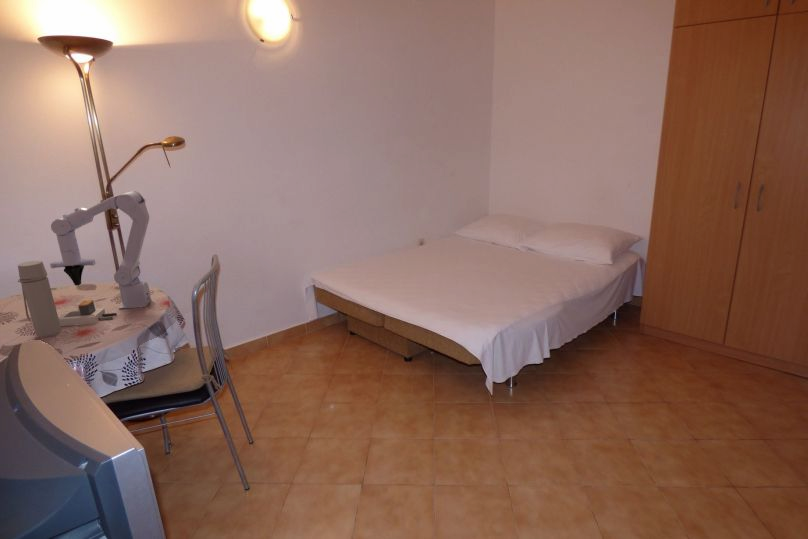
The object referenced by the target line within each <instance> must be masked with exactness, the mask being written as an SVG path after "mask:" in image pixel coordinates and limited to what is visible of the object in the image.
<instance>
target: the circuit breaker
mask: <svg viewBox="0 0 808 539" xmlns="http://www.w3.org/2000/svg"><path fill="white" fill-rule="evenodd" d="M102 314H106V310H105V308H95V311H93V312H92V313H91V314H89V315H81V314H80V310H79V309H78V310H71V311H65V312H63V313H61V315H58V319H59V322H60V326H61V327H66V326H79V325H89V324H90V325H91V324H97V323H98V322H99V321H100V320H99V319H98V318H99V317H103V316H102Z"/></svg>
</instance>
